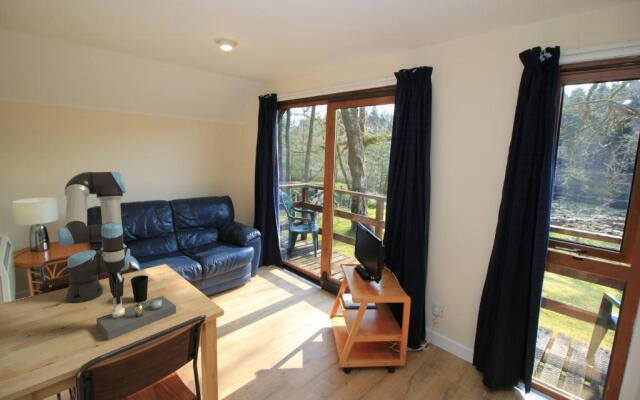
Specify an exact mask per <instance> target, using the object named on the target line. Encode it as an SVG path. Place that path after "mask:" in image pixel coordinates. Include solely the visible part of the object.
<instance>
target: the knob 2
mask: <svg viewBox="0 0 640 400" xmlns="http://www.w3.org/2000/svg"><path fill="white" fill-rule="evenodd" d="M150 307H151V309H153V310H157V309H160V308H161V307H162V300H154V301H152V302H151V303H150Z"/></svg>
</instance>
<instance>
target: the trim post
mask: <svg viewBox="0 0 640 400" xmlns="http://www.w3.org/2000/svg"><path fill="white" fill-rule="evenodd" d="M141 303H142V302H141ZM141 303H136V304H134V305H135V314H136V317H137V318H139V317H142V316H143V308H142V304H141Z"/></svg>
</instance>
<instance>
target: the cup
mask: <svg viewBox="0 0 640 400" xmlns="http://www.w3.org/2000/svg"><path fill="white" fill-rule="evenodd" d="M130 285H131V289H132V293H133V301H134V303H136V304H138V303H143V302H146V301H148V286H149V276H148V275H146V274H145V275H144V274H141V275H136V276H133V277H131V278H130Z"/></svg>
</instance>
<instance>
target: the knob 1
mask: <svg viewBox="0 0 640 400" xmlns="http://www.w3.org/2000/svg"><path fill="white" fill-rule="evenodd" d="M125 309H126V308H125V307H123V306H122V309H121V310H118V311H114V308H113V309H112V310H111V313H112V317H113V318H115V319H117V318H120V317H122V316H124V315H125Z"/></svg>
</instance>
